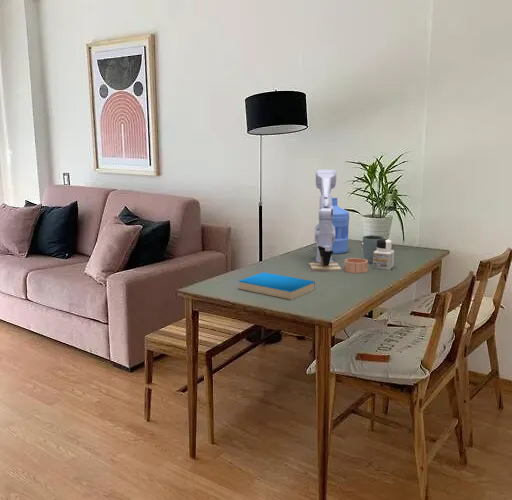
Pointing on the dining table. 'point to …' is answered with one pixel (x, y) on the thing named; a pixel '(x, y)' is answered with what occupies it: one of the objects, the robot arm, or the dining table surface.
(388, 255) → the container
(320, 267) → the lid
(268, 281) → the book
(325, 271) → the mat
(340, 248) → the water jug
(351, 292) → the dining table surface
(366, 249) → the dark green cup
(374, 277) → the dining table surface
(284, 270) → the dining table surface
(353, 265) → the bowl
